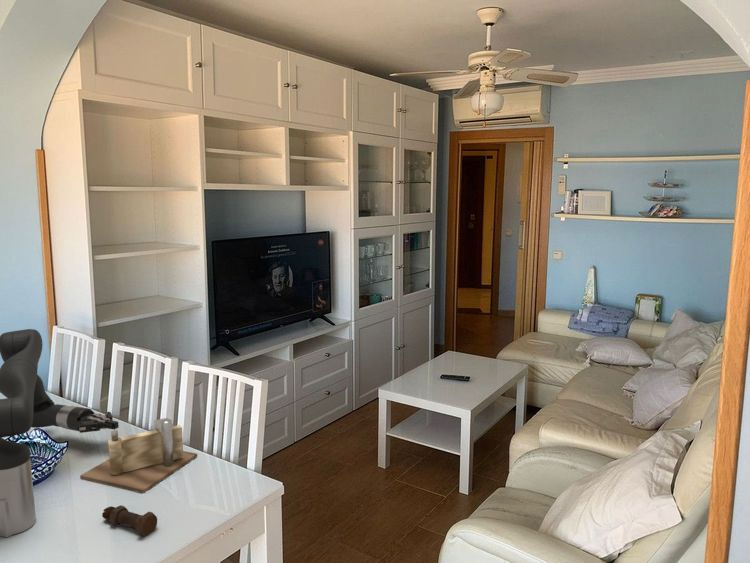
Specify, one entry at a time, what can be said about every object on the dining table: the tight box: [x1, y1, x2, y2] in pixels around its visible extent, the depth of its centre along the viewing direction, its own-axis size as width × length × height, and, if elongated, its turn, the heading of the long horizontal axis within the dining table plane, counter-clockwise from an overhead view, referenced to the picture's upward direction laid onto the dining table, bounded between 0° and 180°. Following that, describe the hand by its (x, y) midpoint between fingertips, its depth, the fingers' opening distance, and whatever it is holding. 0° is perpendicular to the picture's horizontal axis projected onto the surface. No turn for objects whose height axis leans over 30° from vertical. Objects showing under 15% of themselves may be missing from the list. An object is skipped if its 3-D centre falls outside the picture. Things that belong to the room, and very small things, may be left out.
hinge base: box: [79, 429, 198, 494], centre depth 177 cm, size 24×23×14 cm
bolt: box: [101, 505, 158, 538], centre depth 147 cm, size 6×5×15 cm
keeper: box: [153, 417, 174, 467], centre depth 178 cm, size 4×8×14 cm, turn 35°
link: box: [107, 424, 184, 475], centre depth 176 cm, size 21×4×10 cm, turn 124°
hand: (116, 425), depth 185 cm, fingers closed
